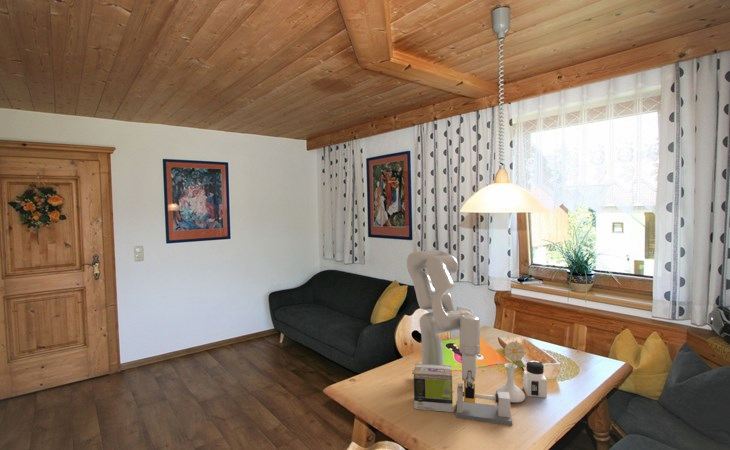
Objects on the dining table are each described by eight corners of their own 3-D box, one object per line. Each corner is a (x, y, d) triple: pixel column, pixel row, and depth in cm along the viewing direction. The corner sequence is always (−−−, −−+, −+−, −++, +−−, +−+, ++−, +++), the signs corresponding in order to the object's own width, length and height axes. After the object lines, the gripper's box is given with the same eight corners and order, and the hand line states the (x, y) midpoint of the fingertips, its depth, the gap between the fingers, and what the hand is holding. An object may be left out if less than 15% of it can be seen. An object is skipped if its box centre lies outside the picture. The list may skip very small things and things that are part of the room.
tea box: (452, 400, 154) (452, 365, 153) (452, 413, 144) (452, 376, 144) (415, 396, 157) (415, 362, 156) (413, 409, 147) (413, 372, 147)
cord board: (455, 417, 141) (455, 393, 141) (456, 404, 151) (456, 381, 150) (512, 425, 136) (512, 399, 136) (509, 410, 146) (509, 386, 145)
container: (546, 398, 155) (547, 367, 154) (527, 396, 156) (527, 366, 156) (542, 389, 162) (542, 359, 162) (523, 387, 164) (523, 358, 163)
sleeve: (464, 402, 143) (464, 382, 143) (464, 396, 147) (464, 378, 147) (474, 403, 142) (475, 384, 142) (474, 398, 146) (474, 379, 146)
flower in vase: (489, 394, 158) (490, 336, 157) (510, 389, 163) (511, 332, 161) (513, 410, 146) (513, 347, 145) (534, 403, 151) (535, 342, 149)
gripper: (459, 339, 153) (459, 380, 154) (459, 356, 136) (459, 401, 137) (479, 340, 151) (478, 382, 152) (480, 358, 134) (480, 404, 135)
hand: (469, 391), depth 144 cm, fingers open, 9 cm apart
